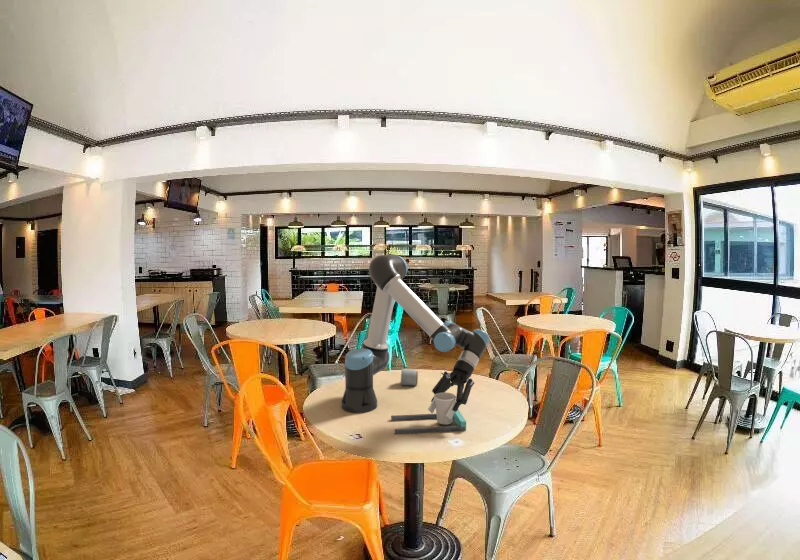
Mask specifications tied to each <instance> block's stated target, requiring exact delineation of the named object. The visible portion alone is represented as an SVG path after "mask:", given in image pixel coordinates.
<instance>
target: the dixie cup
mask: <svg viewBox="0 0 800 560" xmlns="http://www.w3.org/2000/svg"><path fill="white" fill-rule="evenodd" d="M456 396H457V395H456V394H453V393H451V392H447V391H446V392H442V393H437V394H435V395H434V394H433V397H434V398H435V406H436V408H435V414H437V418H436V421H437V423H438V424H440V425H450V424H452V423H453V420H454V419H453V416H452V418H451V420H449V419H448V418H447V417H446V414H447V412H448V411H449V409H450V407H451V405H452V403H453V401H456V400H455V399H456Z"/></svg>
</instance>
